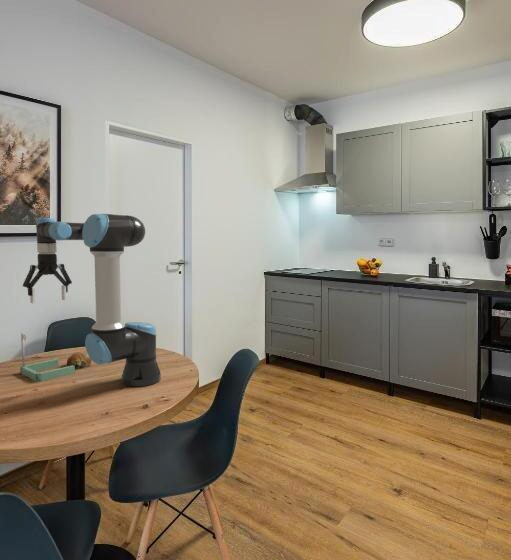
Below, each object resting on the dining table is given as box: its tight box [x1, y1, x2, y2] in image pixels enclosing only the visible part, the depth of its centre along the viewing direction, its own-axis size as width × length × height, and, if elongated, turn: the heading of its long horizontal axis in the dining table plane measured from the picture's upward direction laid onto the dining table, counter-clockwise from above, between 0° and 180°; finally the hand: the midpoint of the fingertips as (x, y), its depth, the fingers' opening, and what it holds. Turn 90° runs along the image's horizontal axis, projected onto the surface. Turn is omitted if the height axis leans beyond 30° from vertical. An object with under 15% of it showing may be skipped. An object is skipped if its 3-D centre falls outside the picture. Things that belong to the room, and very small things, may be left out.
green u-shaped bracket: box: [19, 332, 76, 383], centre depth 172 cm, size 16×15×17 cm
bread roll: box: [66, 351, 92, 370], centre depth 183 cm, size 10×10×8 cm
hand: (48, 301), depth 184 cm, fingers open, 13 cm apart
